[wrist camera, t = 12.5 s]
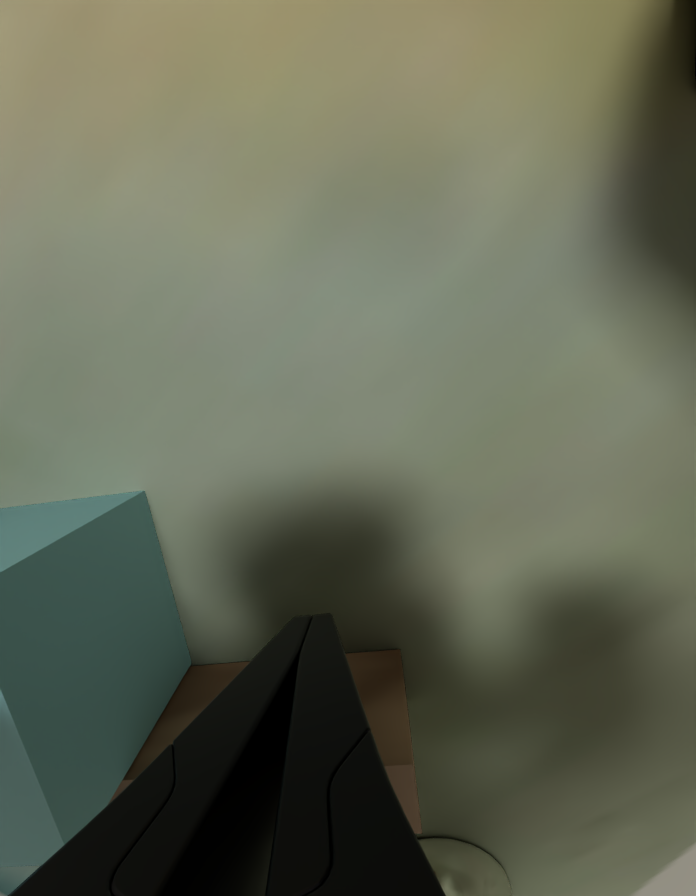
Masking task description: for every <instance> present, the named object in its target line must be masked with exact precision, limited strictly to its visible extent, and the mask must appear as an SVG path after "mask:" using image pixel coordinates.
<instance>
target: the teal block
mask: <svg viewBox="0 0 696 896" xmlns="http://www.w3.org/2000/svg"><path fill="white" fill-rule="evenodd" d="M191 663H192V662H191V658H190V655H189V651H188V647H187V644H186V640H185V636H184V633H183V629H182V625H181V622H180V618H179V615H178V611H177V607H176V604H175V600H174V596H173V593H172V589H171V585H170V582H169V578H168V574H167V571H166V567H165V563H164V560H163V556H162V552H161V549H160V545H159V541H158V538H157V534H156V531H155V527H154V523H153V520H152V516H151V512H150V509H149V505H148V501H147V498H146V494H145V491H137V492H129V493H121V494H113V495H105V496H97V497H89V498H81V499H73V500H65V501H57V502H49V503H41V504H33V505H25V506H17V507H8V508H0V867H15V866H41V865H43V864H44V863H45V862H46V861H47V860H48V859H49V858H50V857H51V856H52V855H54V854H55V853H56V852H57V851H58V850H59V849H60V848H61V847H62V846H64V845H65V844H66V843H67V842H68V841H69V840H70V839H71V838H72V837H74V836H75V835H76V834H77V833H78V832H79V831H80V830H81V829H82V828H83V827H85V826H86V825H87V824H88V823H89V822H90V821H91V820H92V819H93V818H94V817H95V816H96V815H97V814H99V813H100V812H101V811H102V810H103V809H104V808H105V807H106V806H107V805H108V803H109V802H110V800H111V798H112V797H113V795H114V793H115V792H116V790H117V788H118V786H119V785H120V783H121V781H122V780H123V778H124V776H125V775H126V773H127V771H128V770H129V768H130V766H131V765H132V763H133V761H134V759H135V758H136V756H137V754H138V753H139V751H140V749H141V748H142V746H143V744H144V743H145V741H146V739H147V737H148V736H149V734H150V732H151V731H152V729H153V727H154V726H155V724H156V722H157V721H158V719H159V717H160V715H161V714H162V712H163V710H164V709H165V707H166V705H167V704H168V702H169V700H170V699H171V697H172V695H173V694H174V692H175V690H176V688H177V687H178V685H179V683H180V682H181V680H182V678H183V677H184V675H185V673H186V672H187V670H188V668H189V666H190V665H191Z"/></svg>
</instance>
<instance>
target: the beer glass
mask: <svg viewBox="0 0 696 896" xmlns="http://www.w3.org/2000/svg"><path fill="white" fill-rule="evenodd" d="M418 841H419V843H420V845H421V847H422V849H423V851H424V853H425V855H426V857H427V859H428V861H429V863H430V865H431V867H432V869H433V871H434V873H435V875H436V877H437V879H438V881H439V883H440V885H441V887H442V889H443V891H444V893H445V895H446V896H513V895H512V890H511V886H510V883H509V880H508V877H507V875H506V873H505V871H504V870H503V868H502V867H501V865H500V864H499V863H498V862H497V861H496V860H495V859H494V858H493V857H492V856H490V855H489V854H488V853H486V852H485V851H483V850H482V849H480V848H478V847H476V846H474V845H471V844H469V843H466V842H463V841H459V840H454V839H448V838H424V839H418Z"/></svg>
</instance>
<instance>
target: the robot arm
mask: <svg viewBox="0 0 696 896" xmlns="http://www.w3.org/2000/svg"><path fill="white" fill-rule="evenodd" d="M695 79H696V57H695ZM8 896H446V895H445V893H444V891H443V889H442V887H441V885H440V883H439V881H438V879H437V877H436V875H435V873H434V871H433V869H432V867H431V865H430V863H429V861H428V859H427V857H426V855H425V853H424V851H423V849H422V847H421V845H420V843H419V841H418V839H417V837H416V835H415V833H414V831H413V829H412V827H411V825H410V823H409V821H408V819H407V817H406V815H405V813H404V810H403V808H402V806H401V804H400V802H399V800H398V797H397V795H396V793H395V791H394V789H393V787H392V784H391V782H390V780H389V777H388V774H387V772H386V769H385V767H384V764H383V761H382V759H381V756H380V754H379V751H378V748H377V745H376V742H375V739H374V736H373V734H372V732H371V728H370V725H369V722H368V719H367V716H366V713H365V710H364V707H363V704H362V701H361V698H360V696H359V693H358V690H357V687H356V684H355V681H354V678H353V675H352V672H351V669H350V666H349V663H348V660H347V657H346V654H345V652H344V649H343V646H342V643H341V640H340V637H339V634H338V631H337V628H336V625H335V622H334V619H333V616H332V615H331V614H330V613H327V614H316V615H314V616H313V617H312V616H311V615H305V616H296V617H294V618H292V619H291V620H290V621H289V622H288V623H287V624H286V626H285V627H284V628H283V629H282V630H281V631H280V632H279V633H278V634H277V635H276V636H275V637H274V638H273V639H272V640H271V641H270V642H269V643H268V644H267V645H266V646H265V647H264V648H263V649H262V650H261V651H260V652H259V653H258V654H257V655H256V656H255V657H254V658H253V659H252V660H251V661H250V662H249V663H248V664H247V665H246V666H245V667H244V669H243V670H242V671H241V672H240V673H239V674H238V675H237V676H236V677H235V678H234V679H233V680H232V681H231V682H230V683H229V684H228V685H227V686H226V687H225V688H224V689H223V690H222V691H221V692H220V693H219V694H218V695H217V696H216V697H215V698H214V699H213V700H212V701H211V702H210V703H209V704H208V705H207V706H206V707H205V708H204V709H203V710H202V712H201V713H200V714H199V715H198V716H197V717H196V718H195V719H194V720H193V721H192V722H191V723H190V724H189V725H188V726H187V727H186V728H185V729H184V730H183V731H182V732H181V733H180V734H179V735H178V736H177V737H176V738H175V739H174V740H173V745H172V744H169V745H168V746H167V747H166V748H165V749H164V750H163V751H162V752H161V753H160V754H159V755H158V756H157V757H156V758H155V759H154V760H153V761H152V762H151V763H150V764H149V765H148V766H147V767H146V768H145V769H144V770H143V771H142V772H141V773H140V774H139V775H138V776H137V777H136V778H135V779H134V780H133V781H132V782H131V783H130V784H129V785H128V786H127V787H126V788H125V789H124V790H123V791H122V792H121V793H120V794H119V795H118V796H117V797H116V798H115V799H114V800H113V801H112V802H110V803H109V804H108V805H107V806H106V807H105V808H104V809H103V810H102V811H101V812H100V813H99V814H97V815H96V816H95V817H94V818H93V819H92V820H91V821H90V822H89V823H88V824H87V825H86V826H85V827H83V828H82V829H81V830H80V831H79V832H78V833H77V834H76V835H75V836H74V837H72V838H71V839H70V840H69V841H68V842H67V843H66V844H65V845H64V846H62V847H61V848H60V849H59V850H58V851H57V852H56V853H55V854H54V855H52V856H51V857H50V858H49V859H48V860H47V861H46V862H45V863H44V864H43V865H41V866H40V867H39V868H38V869H37V870H36V871H35V872H34V873H33V874H31V875H30V876H29V877H28V878H27V879H26V880H25V881H24V882H23V883H21V884H20V885H19V886H18V887H17V888H16V889H15V890H14V891H13V892H11V893H10V894H9V895H8Z"/></svg>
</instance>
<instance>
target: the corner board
mask: <svg viewBox="0 0 696 896" xmlns="http://www.w3.org/2000/svg"><path fill="white" fill-rule="evenodd" d="M346 657H347V660H348V663H349V666H350V669H351V672H352V675H353V678H354V681H355V684H356V687H357V690H358V693H359V696H360V698H361V701H362V704H363V707H364V710H365V713H366V716H367V719H368V722H369V725H370V728H371V732H372V734H373V736H374V739H375V742H376V745H377V748H378V751H379V754H380V756H381V759H382V761H383V764H384V767H385V769H386V772H387V774H388V777H389V780H390V782H391V784H392V787H393V789H394V791H395V793H396V795H397V797H398V800H399V802H400V804H401V806H402V808H403V810H404V813H405V815H406V817H407V819H408V821H409V823H410V825H411V827H412V829H413V831H414V833H415V834H422V828H421V819H420V810H419V801H418V793H417V784H416V775H415V766H414V758H413V749H412V740H411V731H410V722H409V714H408V705H407V697H406V689H405V682H404V674H403V666H402V659H401V651H400V649H397V650H384V651H372V652H360V653H347V654H346ZM249 662H250V661H248V662H236V663H223V664H211V665H199V666H189V668H188V670H187V672H186V673H185V675H184V677H183V678H182V680H181V682H180V683H179V685H178V687H177V688H176V690H175V692H174V694H173V695H172V697H171V699H170V700H169V702H168V704H167V705H166V707H165V709H164V710H163V712H162V714H161V715H160V717H159V719H158V721H157V722H156V724H155V726H154V727H153V729H152V731H151V732H150V734H149V736H148V737H147V739H146V741H145V743H144V744H143V746H142V748H141V749H140V751H139V753H138V754H137V756H136V758H135V759H134V761H133V763H132V765H131V766H130V768H129V770H128V771H127V773H126V775H125V776H124V778H123V780H122V781H121V783H120V785H119V786H118V788H117V790H116V792H115V793H114V795H113V797H112V798H111V800H110V802H112V801H113V800H114V799H115V798H116V797H117V796H118V795H119V794H120V793H121V792H122V791H123V790H124V789H125V788H126V787H127V786H128V785H129V784H130V783H131V782H132V781H133V780H134V779H135V778H136V777H137V776H138V775H139V774H140V773H141V772H142V771H143V770H144V769H145V768H146V767H147V766H148V765H149V764H150V763H151V762H152V761H153V760H154V759H155V758H156V757H157V756H158V755H159V754H160V753H161V752H162V751H163V750H164V749H165V748H166V747H167V746H168V745H169V744H172V745H173V740H174V739H175V738H176V737H177V736H178V735H179V734H180V733H181V732H182V731H183V730H184V729H185V728H186V727H187V726H188V725H189V724H190V723H191V722H192V721H193V720H194V719H195V718H196V717H197V716H198V715H199V714H200V713H201V712H202V710H203V709H204V708H205V707H206V706H207V705H208V704H209V703H210V702H211V701H212V700H213V699H214V698H215V697H216V696H217V695H218V694H219V693H220V692H221V691H222V690H223V689H224V688H225V687H226V686H227V685H228V684H229V683H230V682H231V681H232V680H233V679H234V678H235V677H236V676H237V675H238V674H239V673H240V672H241V671H242V670H243V669H244V667H245V666H246V665H247V664H248V663H249ZM110 802H109V803H110ZM109 803H108V804H109Z"/></svg>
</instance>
